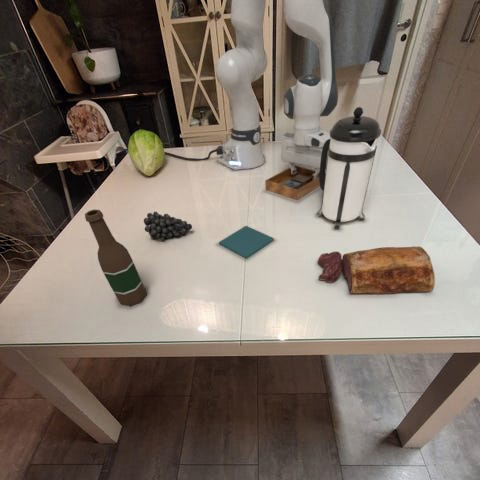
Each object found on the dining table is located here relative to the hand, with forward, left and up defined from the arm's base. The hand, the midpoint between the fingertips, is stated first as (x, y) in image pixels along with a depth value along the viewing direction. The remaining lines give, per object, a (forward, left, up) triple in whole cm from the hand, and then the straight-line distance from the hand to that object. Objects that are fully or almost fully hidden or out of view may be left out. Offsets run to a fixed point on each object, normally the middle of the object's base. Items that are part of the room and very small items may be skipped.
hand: (304, 176), depth 113 cm
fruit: (-12, -55, -3) cm, 57 cm away
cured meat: (+45, -33, -3) cm, 56 cm away
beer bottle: (+4, -79, -3) cm, 79 cm away
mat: (+10, -42, -3) cm, 44 cm away
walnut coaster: (-1, -1, -2) cm, 2 cm away
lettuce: (-68, -27, -3) cm, 73 cm away
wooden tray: (-1, -4, -3) cm, 5 cm away
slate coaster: (-1, -8, -2) cm, 8 cm away
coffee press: (+23, -13, -3) cm, 27 cm away
